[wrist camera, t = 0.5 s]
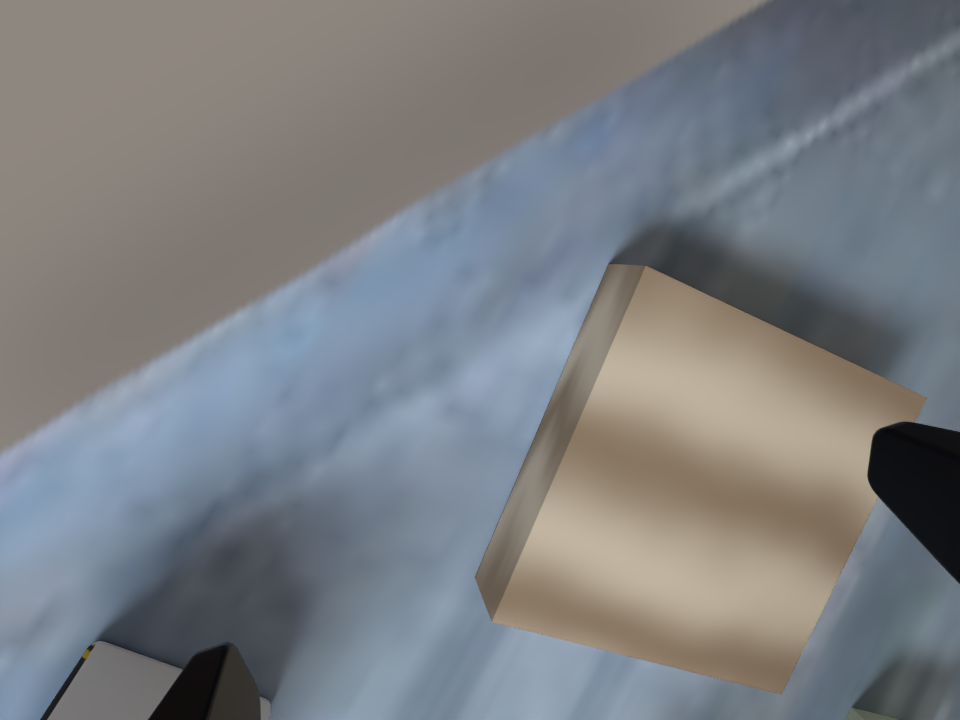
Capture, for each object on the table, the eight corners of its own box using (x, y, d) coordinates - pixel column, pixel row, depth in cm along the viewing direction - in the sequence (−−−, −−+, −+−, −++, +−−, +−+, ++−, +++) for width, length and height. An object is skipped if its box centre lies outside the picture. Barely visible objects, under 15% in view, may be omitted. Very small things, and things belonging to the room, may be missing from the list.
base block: (737, 648, 28) (781, 694, 25) (474, 577, 24) (491, 621, 21) (864, 382, 27) (926, 397, 24) (608, 263, 23) (646, 265, 20)
